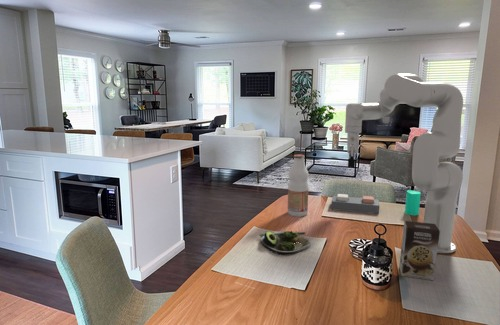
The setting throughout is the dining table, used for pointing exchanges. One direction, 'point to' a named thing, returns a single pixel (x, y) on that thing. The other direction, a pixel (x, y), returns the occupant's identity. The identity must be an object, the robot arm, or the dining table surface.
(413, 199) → the candle
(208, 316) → the dining table surface
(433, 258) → the coffee box
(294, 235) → the salad plate
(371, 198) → the key terracotta
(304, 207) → the fruit juice
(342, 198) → the key offwhite
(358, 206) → the block
